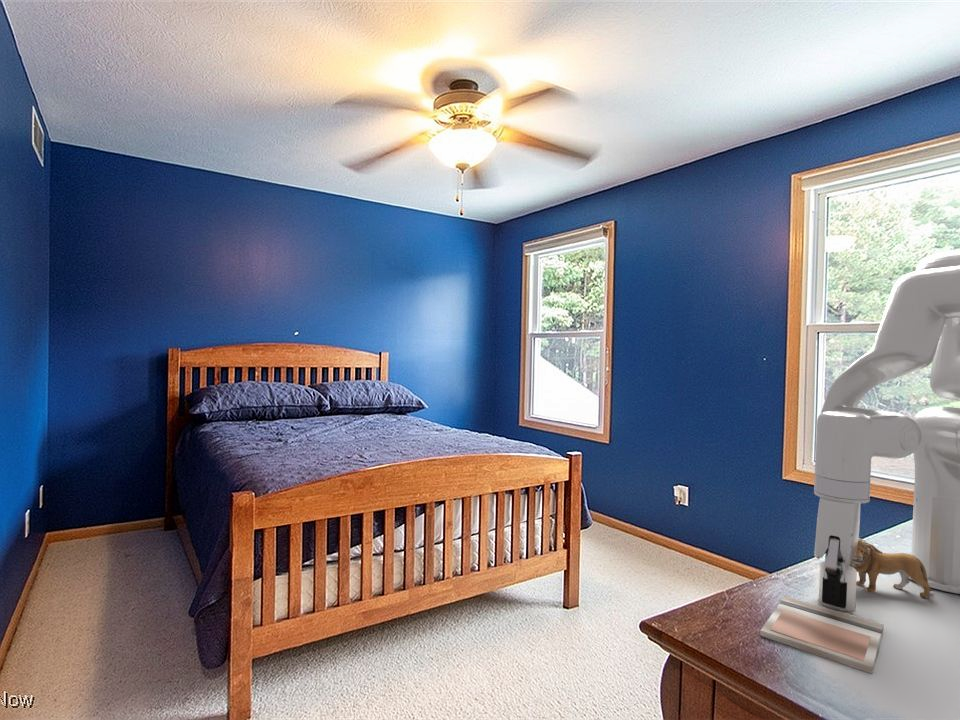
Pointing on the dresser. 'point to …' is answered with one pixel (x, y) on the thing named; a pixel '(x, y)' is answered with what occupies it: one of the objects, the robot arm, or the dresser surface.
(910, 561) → the lion figurine
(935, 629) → the dresser surface
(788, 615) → the board
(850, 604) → the white rounded cylinder
